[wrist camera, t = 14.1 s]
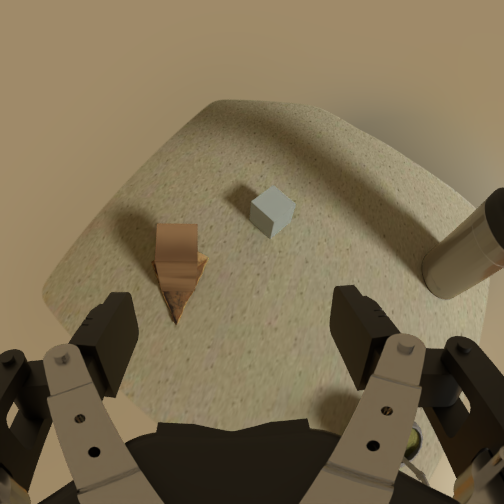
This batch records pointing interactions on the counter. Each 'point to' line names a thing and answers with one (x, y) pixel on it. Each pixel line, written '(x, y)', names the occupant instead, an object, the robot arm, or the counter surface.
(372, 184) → the counter surface
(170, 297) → the shard
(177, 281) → the walnut block
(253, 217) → the grey-blue block
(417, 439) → the mate gourd
